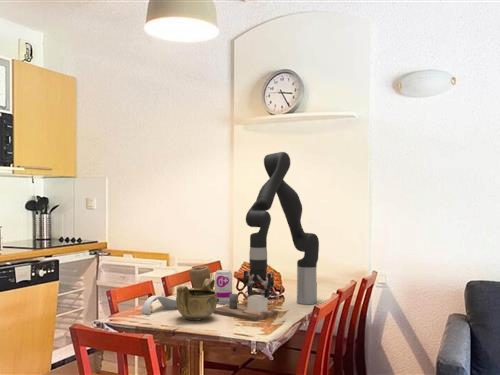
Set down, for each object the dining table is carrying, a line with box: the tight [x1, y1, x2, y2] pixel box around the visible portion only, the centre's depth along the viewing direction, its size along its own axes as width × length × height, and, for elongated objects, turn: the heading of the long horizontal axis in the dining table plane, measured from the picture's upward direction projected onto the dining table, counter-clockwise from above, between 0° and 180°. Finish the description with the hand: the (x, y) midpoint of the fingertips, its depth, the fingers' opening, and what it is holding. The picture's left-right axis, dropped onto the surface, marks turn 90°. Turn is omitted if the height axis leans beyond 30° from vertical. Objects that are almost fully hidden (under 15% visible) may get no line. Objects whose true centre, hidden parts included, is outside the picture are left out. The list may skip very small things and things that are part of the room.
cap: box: [246, 294, 268, 313], centre depth 221 cm, size 6×6×6 cm
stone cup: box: [189, 265, 215, 291], centre depth 264 cm, size 15×12×15 cm
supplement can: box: [214, 269, 233, 305], centre depth 248 cm, size 8×8×15 cm
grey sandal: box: [141, 295, 178, 316], centre depth 231 cm, size 24×12×7 cm, turn 149°
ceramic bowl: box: [175, 278, 218, 321], centre depth 215 cm, size 22×17×15 cm
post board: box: [212, 293, 279, 322], centre depth 225 cm, size 16×24×8 cm, turn 53°
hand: (258, 296), depth 221 cm, fingers open, 8 cm apart
